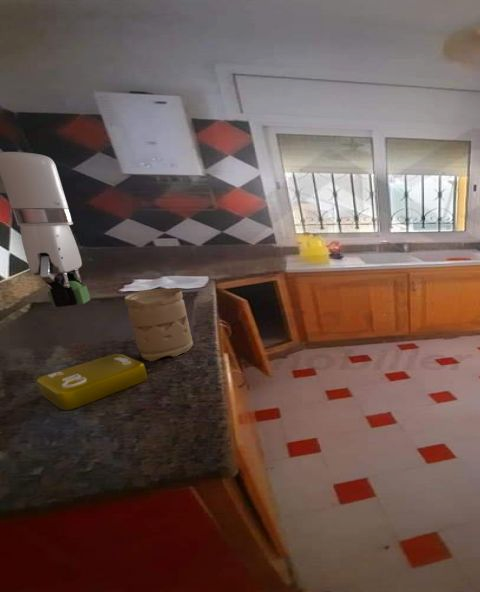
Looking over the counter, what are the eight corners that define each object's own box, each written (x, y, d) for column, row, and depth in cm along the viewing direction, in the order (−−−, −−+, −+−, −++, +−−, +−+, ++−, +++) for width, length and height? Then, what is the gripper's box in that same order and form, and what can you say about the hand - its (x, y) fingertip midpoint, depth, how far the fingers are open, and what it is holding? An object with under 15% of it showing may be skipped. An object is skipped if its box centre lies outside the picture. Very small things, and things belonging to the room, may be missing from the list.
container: (198, 350, 95) (186, 293, 90) (144, 365, 86) (127, 302, 81) (187, 339, 103) (175, 286, 98) (136, 352, 94) (120, 294, 89)
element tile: (151, 379, 79) (146, 362, 77) (65, 413, 66) (58, 393, 64) (122, 366, 85) (117, 350, 84) (39, 395, 72) (32, 376, 71)
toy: (52, 307, 67) (44, 284, 66) (61, 302, 70) (54, 280, 69) (83, 304, 69) (76, 281, 68) (90, 299, 73) (84, 278, 71)
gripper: (39, 217, 70) (65, 296, 75) (-11, 219, 56) (25, 316, 61) (86, 217, 74) (107, 292, 79) (50, 218, 60) (79, 310, 65)
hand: (71, 302), depth 70 cm, fingers closed on toy, 4 cm apart
